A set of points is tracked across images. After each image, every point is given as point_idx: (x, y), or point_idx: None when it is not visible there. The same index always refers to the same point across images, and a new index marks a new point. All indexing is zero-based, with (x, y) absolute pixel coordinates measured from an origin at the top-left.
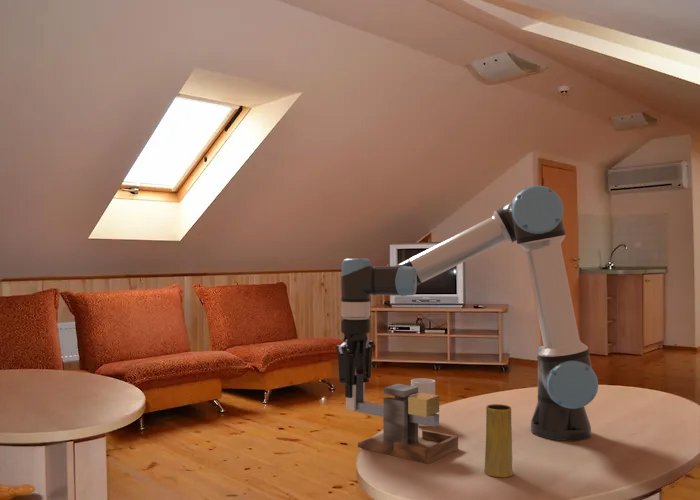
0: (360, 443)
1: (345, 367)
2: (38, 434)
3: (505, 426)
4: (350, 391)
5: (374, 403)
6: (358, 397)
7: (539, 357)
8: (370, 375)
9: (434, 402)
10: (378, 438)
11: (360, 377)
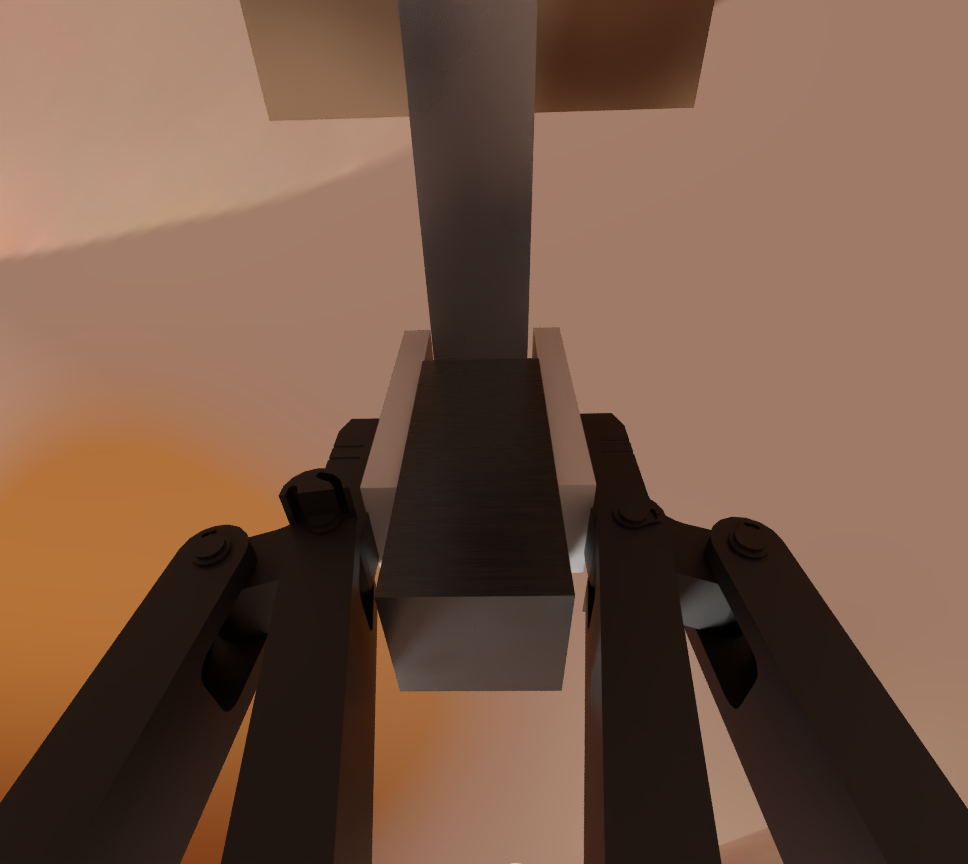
0: (695, 79)
1: (952, 809)
2: None
3: None
4: (617, 457)
5: (444, 185)
6: (506, 383)
7: None
8: (180, 555)
9: None
10: None
11: (463, 552)
